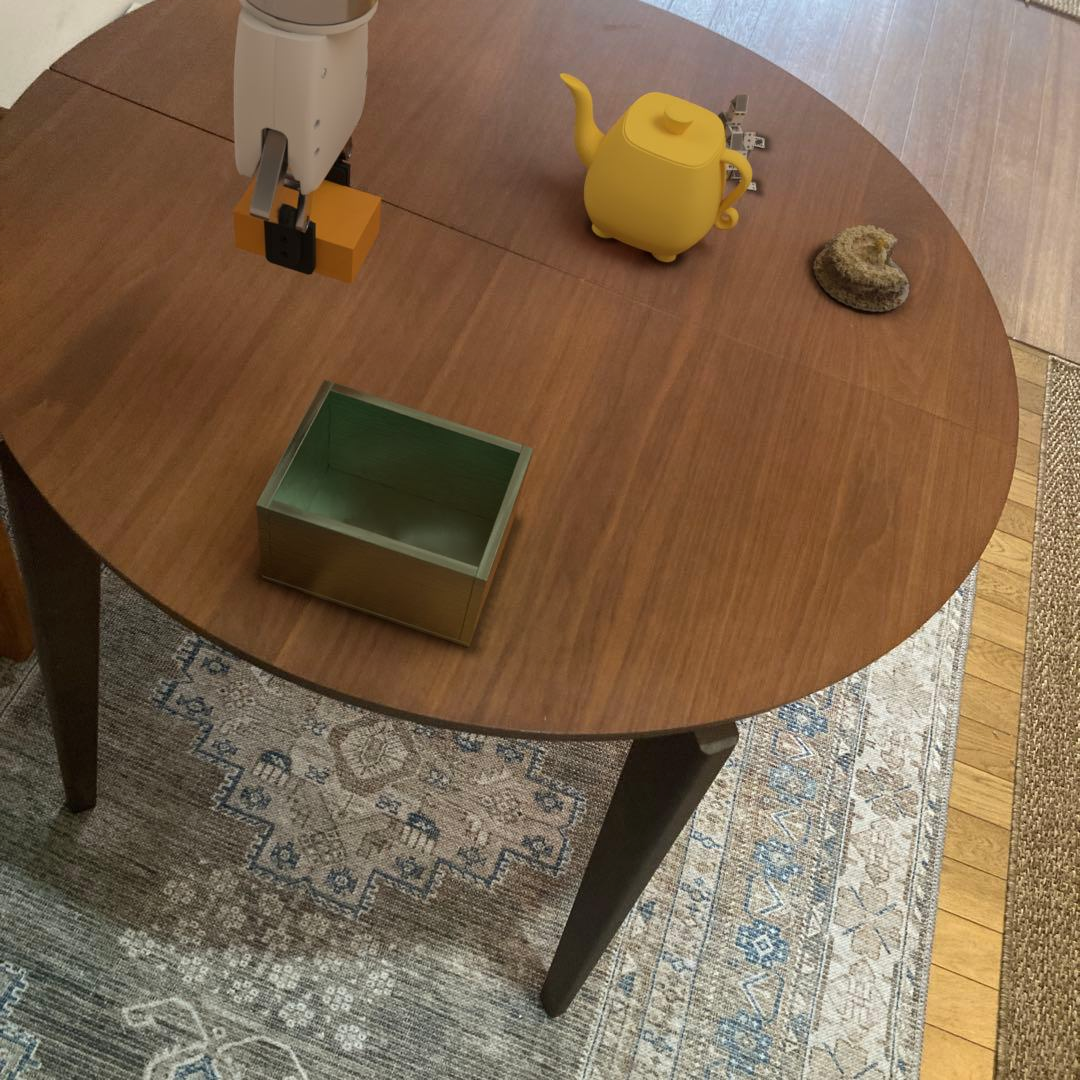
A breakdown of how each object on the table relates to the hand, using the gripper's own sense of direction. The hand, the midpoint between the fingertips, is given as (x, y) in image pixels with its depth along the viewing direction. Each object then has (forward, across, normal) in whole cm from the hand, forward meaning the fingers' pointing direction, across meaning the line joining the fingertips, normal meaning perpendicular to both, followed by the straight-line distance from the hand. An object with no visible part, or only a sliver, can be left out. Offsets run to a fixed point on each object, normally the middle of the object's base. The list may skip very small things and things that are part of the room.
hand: (308, 234), depth 69 cm
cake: (+17, -36, +44) cm, 60 cm away
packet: (0, 0, 0) cm, 0 cm away
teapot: (+17, -34, +20) cm, 44 cm away
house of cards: (+17, -49, +30) cm, 60 cm away
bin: (+17, +11, +11) cm, 23 cm away
